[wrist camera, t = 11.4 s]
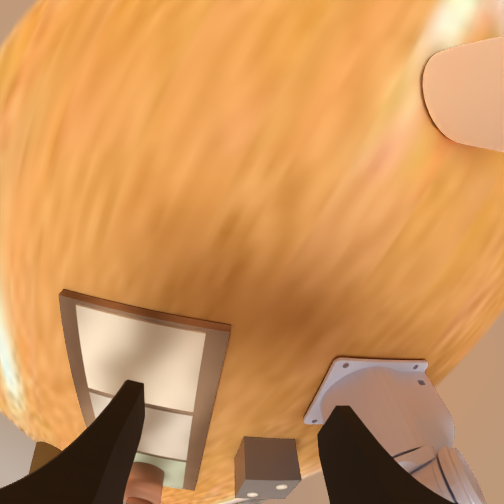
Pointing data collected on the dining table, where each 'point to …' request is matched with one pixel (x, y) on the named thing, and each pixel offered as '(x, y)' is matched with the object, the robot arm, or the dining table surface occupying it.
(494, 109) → the can
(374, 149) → the dining table surface
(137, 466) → the pawn
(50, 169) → the dining table surface
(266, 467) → the die
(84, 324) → the game board
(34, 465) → the olive brown pawn
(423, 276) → the dining table surface
